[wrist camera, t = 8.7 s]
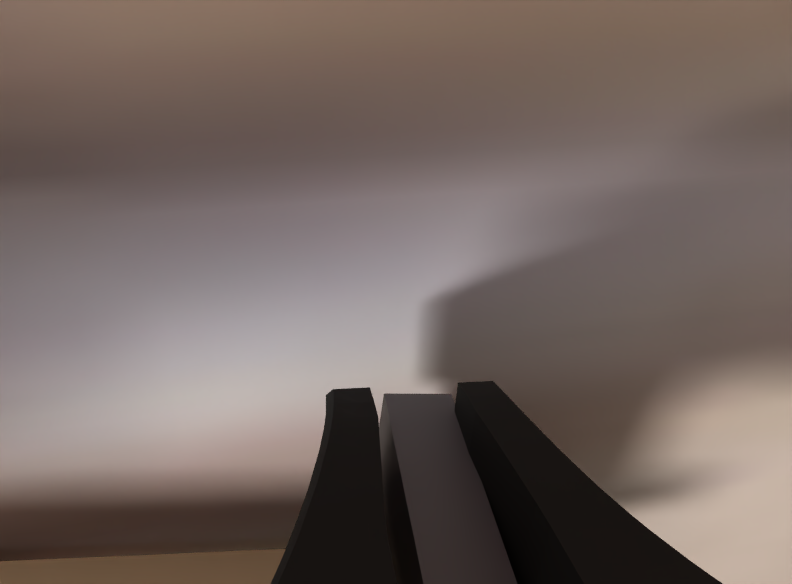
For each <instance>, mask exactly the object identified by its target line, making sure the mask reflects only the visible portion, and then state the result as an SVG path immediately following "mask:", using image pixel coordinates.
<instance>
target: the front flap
mask: <svg viewBox="0 0 792 584" xmlns="http://www.w3.org/2000/svg"><path fill="white" fill-rule="evenodd" d="M379 436H380V450H381V464H382V478H383V492H384V506H385V518H386V526H387V534H388V542H389V547H390V551H391V556H392V561H393V566H394V570H395V575H396V580H397V584H517V581H516V578H515V575H514V572H513V570H512V567H511V564H510V561H509V558H508V555H507V552H506V550H505V547H504V544H503V541H502V538H501V535H500V532H499V529H498V527H497V524H496V521H495V518H494V515H493V512H492V509H491V507H490V504H489V501H488V498H487V495H486V492H485V489H484V486H483V484H482V481H481V479H480V477H479V475H478V472H477V470H476V468H475V466H474V464H473V461H472V459H471V457H470V455H469V452H468V449H467V446H466V443H465V441H464V438H463V435H462V432H461V429H460V426H459V423H458V420H457V417H456V414H455V403H454V400H453V398H452V395H451V394H384V398H383V405H382V411H381V418H380V424H379ZM285 550H286V549H268V550H245V551H222V552H199V553H176V554H154V555H131V556H108V557H85V558H62V559H40V560H17V561H0V584H271V581H272V579H273V577H274V575H275V573H276V571H277V568H278V566H279V564H280V561H281V559H282V557H283V554H284V552H285Z"/></svg>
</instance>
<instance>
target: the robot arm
mask: <svg viewBox="0 0 792 584" xmlns="http://www.w3.org/2000/svg"><path fill="white" fill-rule="evenodd" d="M455 414H456V417H457V420H458V423H459V426H460V429H461V432H462V435H463V438H464V441H465V443H466V446H467V449H468V452H469V455H470V457H471V459H472V461H473V464H474V466H475V468H476V470H477V472H478V475H479V477H480V479H481V481H482V484H483V486H484V489H485V492H486V495H487V498H488V501H489V504H490V507H491V509H492V512H493V515H494V518H495V521H496V524H497V527H498V529H499V532H500V535H501V538H502V541H503V544H504V547H505V550H506V552H507V555H508V558H509V561H510V564H511V567H512V570H513V572H514V575H515V578H516V581H517V584H722V583H721V582H719V581H718V580H716V579H715V578H714V577H712V576H711V575H709V574H708V573H707V572H705V571H704V570H702V569H701V568H699V567H698V566H697V565H695V564H694V563H692V562H691V561H690V560H688V559H687V558H686V557H684V556H683V555H682V554H680V553H679V552H678V551H677V550H675V549H674V548H673V547H671V546H670V545H669V544H667V543H666V542H665V541H663V540H662V539H661V538H659V537H658V536H657V535H655V534H654V533H653V532H652V531H650V530H649V529H648V528H647V527H645V526H644V525H643V524H642V523H640V522H639V521H638V520H637V519H635V518H634V517H633V516H632V515H631V514H629V513H628V512H627V511H626V510H625V509H624V508H622V507H621V506H620V505H619V504H618V503H617V502H616V501H614V500H613V499H612V498H611V497H610V496H609V495H607V494H606V493H605V492H604V491H603V490H602V489H601V488H599V487H598V486H597V485H596V484H595V483H594V482H593V481H592V480H591V479H590V478H588V477H587V476H586V475H585V474H584V473H583V472H582V471H581V470H580V469H579V468H578V467H577V466H576V465H575V464H574V463H573V462H572V461H571V460H570V459H569V458H568V457H567V456H566V455H565V454H564V453H562V452H561V451H560V450H559V449H558V448H557V447H556V446H555V445H554V444H553V443H552V442H551V441H550V440H549V439H548V438H547V437H546V436H545V435H544V434H543V433H542V431H541V430H540V429H539V428H538V427H537V426H536V425H535V424H534V423H533V422H532V421H531V420H530V419H529V418H528V417H527V416H526V415H525V414H524V413H523V412H522V411H521V410H520V409H519V408H518V407H517V405H516V404H515V403H514V402H513V401H512V400H511V399H510V398H509V397H508V396H507V395H506V394H505V393H504V392H503V391H502V390H501V389H500V388H499V387H498V386H497V385H496V384H495V383H494V382H493V381H485V382H466V383H458V388H457V396H456V403H455ZM271 584H397V580H396V575H395V570H394V566H393V561H392V556H391V551H390V547H389V542H388V534H387V526H386V518H385V506H384V492H383V478H382V464H381V450H380V436H379V423H378V415H377V411H376V407H375V403H374V400H373V397H372V393H371V390H370V388H351V389H333V390H332V391H331V392H329V393H328V394H327V395H326V418H325V425H324V431H323V436H322V441H321V445H320V450H319V454H318V457H317V461H316V464H315V467H314V471H313V474H312V478H311V481H310V485H309V488H308V491H307V494H306V497H305V500H304V502H303V505H302V508H301V511H300V513H299V516H298V519H297V521H296V524H295V527H294V529H293V532H292V535H291V537H290V540H289V542H288V545H287V547H286V550H285V552H284V554H283V557H282V559H281V561H280V564H279V566H278V568H277V571H276V573H275V575H274V577H273V579H272V581H271Z"/></svg>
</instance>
